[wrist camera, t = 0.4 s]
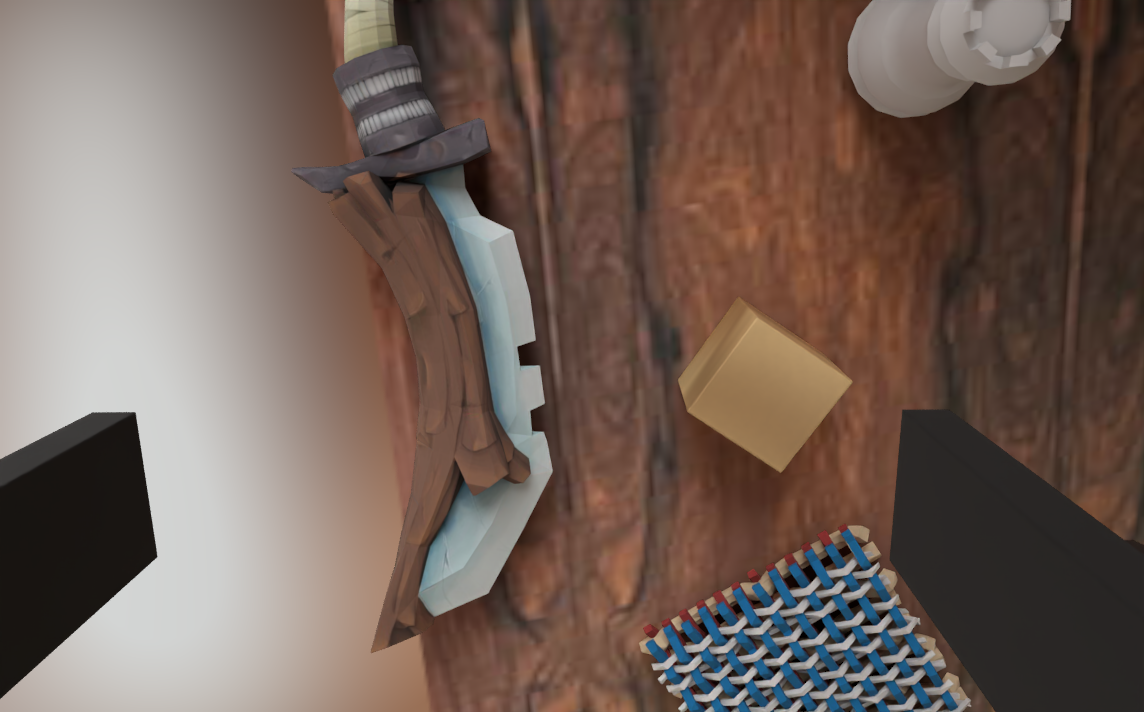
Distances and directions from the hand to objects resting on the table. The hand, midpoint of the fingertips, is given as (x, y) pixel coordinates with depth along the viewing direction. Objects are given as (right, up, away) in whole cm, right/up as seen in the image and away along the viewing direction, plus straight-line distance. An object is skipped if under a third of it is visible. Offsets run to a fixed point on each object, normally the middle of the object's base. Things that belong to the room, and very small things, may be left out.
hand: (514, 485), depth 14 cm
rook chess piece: (+13, +13, +15) cm, 23 cm away
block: (+8, +2, +18) cm, 19 cm away
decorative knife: (-6, +21, +12) cm, 24 cm away
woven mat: (+11, -11, +21) cm, 25 cm away
